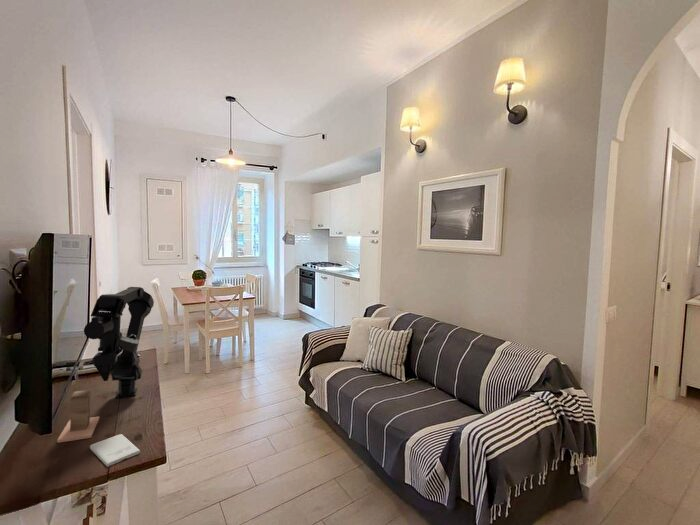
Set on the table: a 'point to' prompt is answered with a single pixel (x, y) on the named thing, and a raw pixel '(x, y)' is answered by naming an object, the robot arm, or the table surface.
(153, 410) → the table surface
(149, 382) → the table surface
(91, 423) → the terracotta mat
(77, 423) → the brown rectangular block
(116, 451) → the external hard drive
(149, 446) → the table surface
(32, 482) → the table surface
